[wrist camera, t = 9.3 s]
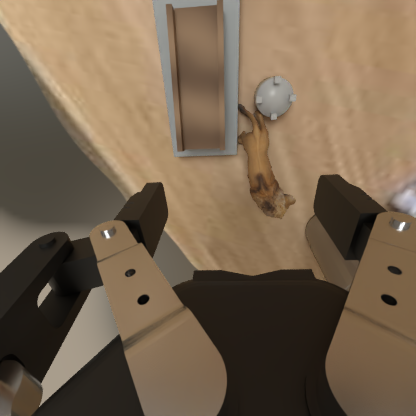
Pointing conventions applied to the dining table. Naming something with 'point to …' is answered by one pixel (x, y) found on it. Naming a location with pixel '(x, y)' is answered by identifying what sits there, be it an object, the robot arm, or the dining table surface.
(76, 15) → the dining table surface
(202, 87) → the ramp
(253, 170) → the lion figurine
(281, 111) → the grey dome cap
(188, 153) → the deck
